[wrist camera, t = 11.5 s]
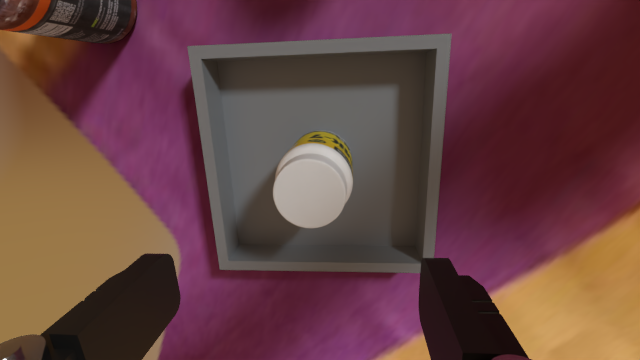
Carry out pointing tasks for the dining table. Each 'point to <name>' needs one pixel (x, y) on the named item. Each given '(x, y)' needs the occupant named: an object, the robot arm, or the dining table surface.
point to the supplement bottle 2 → (314, 180)
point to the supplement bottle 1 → (70, 18)
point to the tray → (334, 116)
